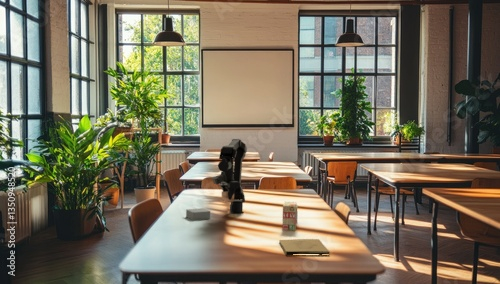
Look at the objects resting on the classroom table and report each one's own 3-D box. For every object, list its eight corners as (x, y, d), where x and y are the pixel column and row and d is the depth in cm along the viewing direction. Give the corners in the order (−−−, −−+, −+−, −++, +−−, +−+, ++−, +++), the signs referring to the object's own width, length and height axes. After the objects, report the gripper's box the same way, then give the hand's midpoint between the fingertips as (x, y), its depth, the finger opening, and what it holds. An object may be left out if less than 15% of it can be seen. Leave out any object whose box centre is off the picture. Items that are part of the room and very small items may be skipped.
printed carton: (285, 222, 262) (286, 198, 261) (297, 222, 261) (298, 199, 261) (282, 230, 241) (282, 205, 240) (295, 231, 240) (295, 205, 239)
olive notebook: (279, 243, 215) (279, 238, 215) (319, 243, 216) (319, 238, 216) (285, 257, 194) (285, 251, 194) (329, 257, 195) (329, 251, 195)
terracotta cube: (229, 200, 269) (230, 191, 269) (233, 201, 265) (234, 192, 265) (221, 200, 267) (221, 191, 267) (225, 202, 263) (225, 192, 262)
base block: (203, 215, 276) (203, 208, 276) (210, 218, 267) (210, 211, 267) (186, 216, 271) (186, 209, 271) (192, 220, 263) (192, 212, 262)
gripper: (207, 168, 270) (207, 197, 271) (221, 171, 253) (221, 202, 254) (226, 168, 275) (225, 196, 276) (241, 171, 259) (240, 201, 259)
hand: (227, 198), depth 266 cm, fingers closed on terracotta cube, 5 cm apart
